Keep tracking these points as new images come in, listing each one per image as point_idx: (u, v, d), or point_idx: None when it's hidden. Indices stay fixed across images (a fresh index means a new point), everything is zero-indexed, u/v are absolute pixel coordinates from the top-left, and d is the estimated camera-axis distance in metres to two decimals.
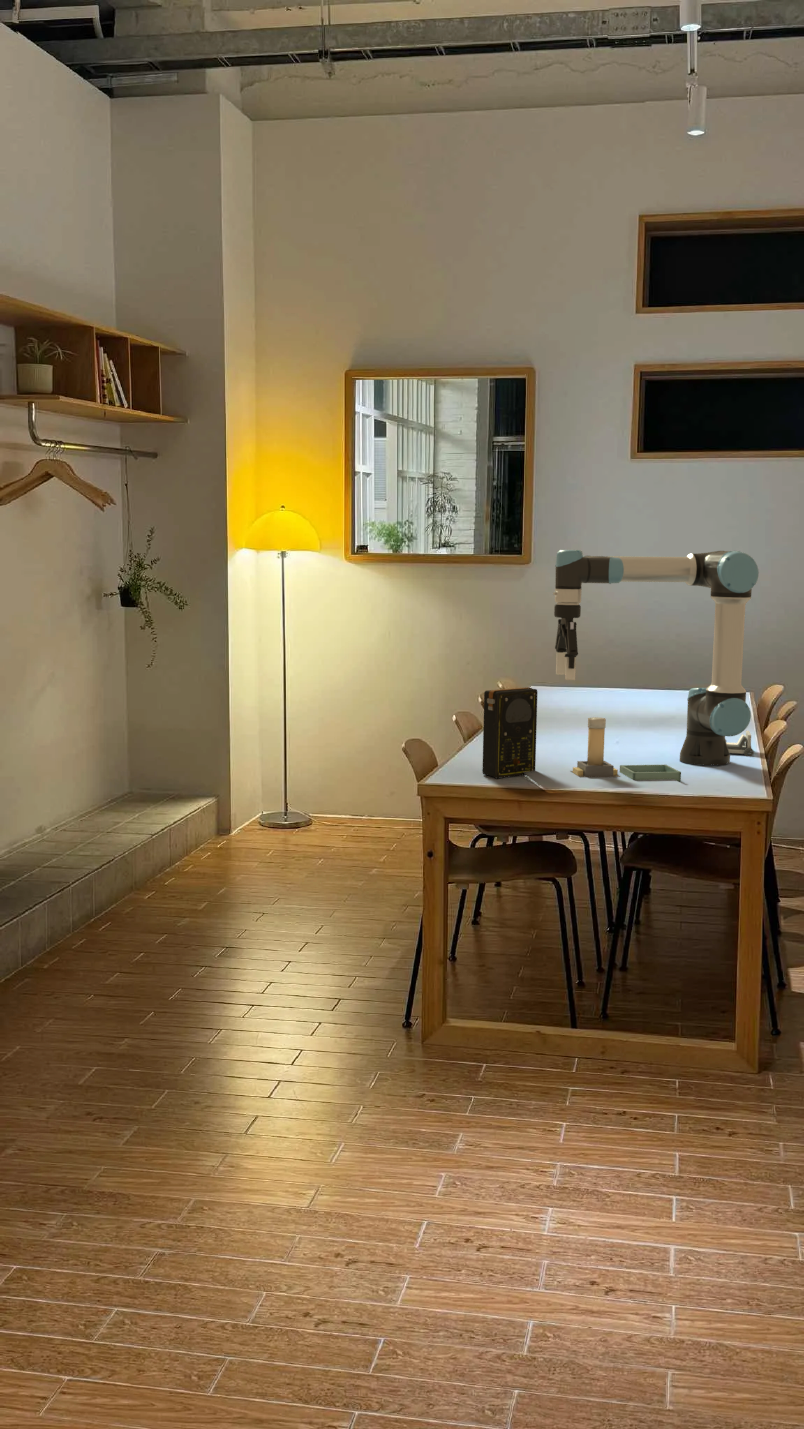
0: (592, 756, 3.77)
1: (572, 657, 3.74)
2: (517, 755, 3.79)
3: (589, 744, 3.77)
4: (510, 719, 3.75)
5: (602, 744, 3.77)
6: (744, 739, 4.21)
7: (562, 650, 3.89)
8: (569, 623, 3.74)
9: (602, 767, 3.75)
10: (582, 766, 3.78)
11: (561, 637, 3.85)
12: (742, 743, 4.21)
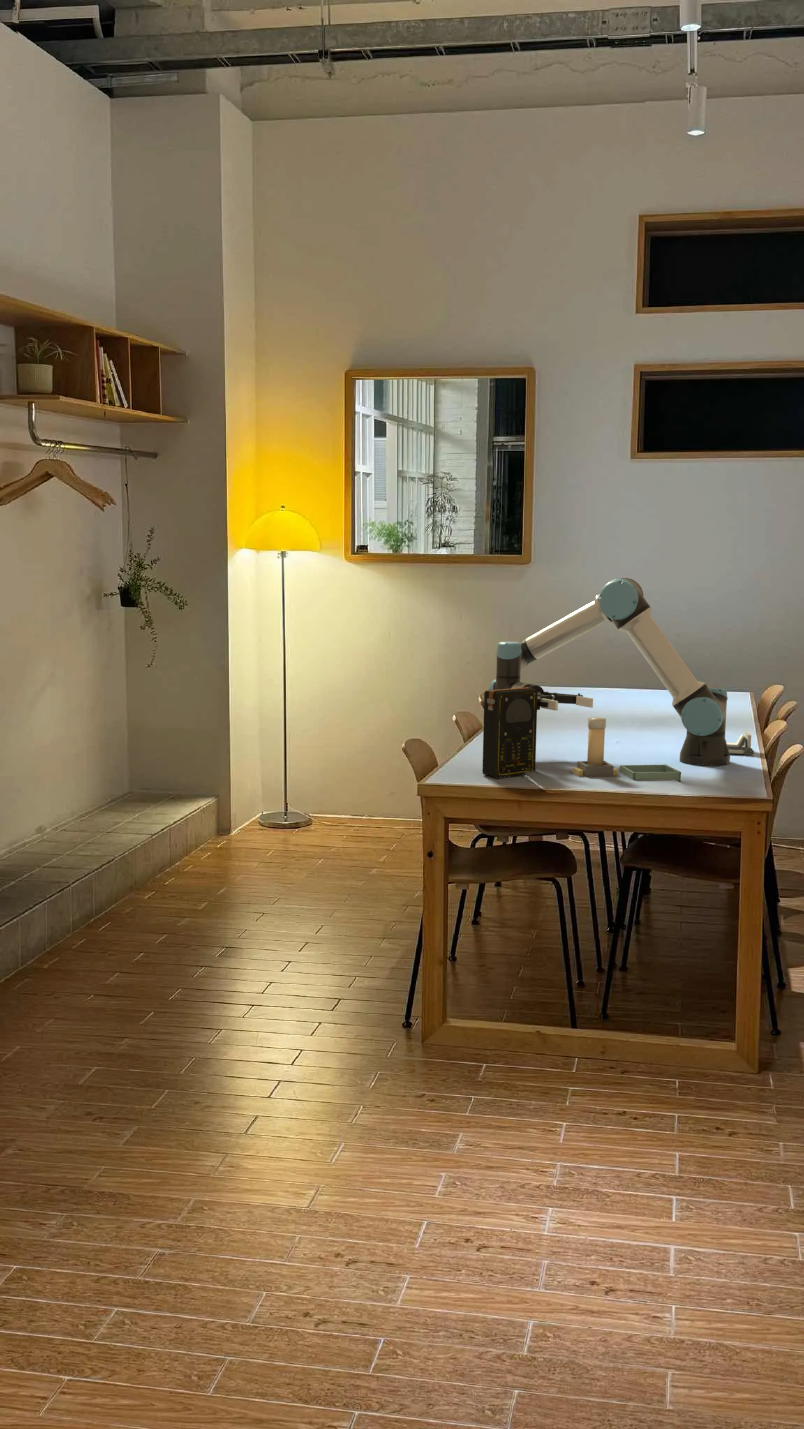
0: (592, 756, 3.77)
1: (537, 703, 3.85)
2: (517, 755, 3.79)
3: (589, 744, 3.77)
4: (510, 719, 3.75)
5: (602, 744, 3.77)
6: (744, 739, 4.21)
7: None
8: None
9: (602, 767, 3.75)
10: (582, 766, 3.78)
11: (558, 701, 3.96)
12: (742, 743, 4.21)
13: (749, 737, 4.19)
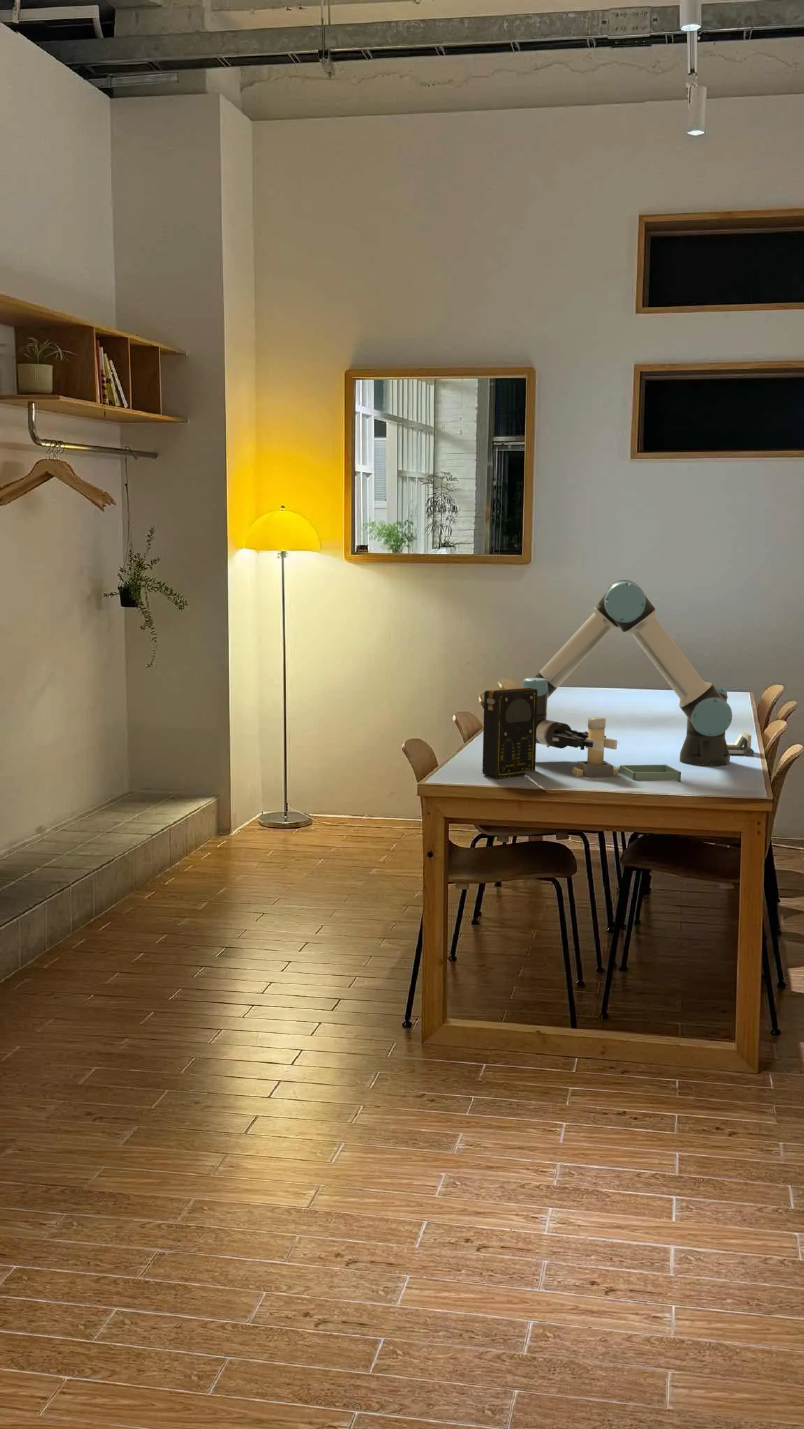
0: (592, 756, 3.77)
1: (581, 743, 3.77)
2: (517, 755, 3.79)
3: None
4: (510, 719, 3.75)
5: None
6: (744, 739, 4.20)
7: None
8: (553, 741, 3.84)
9: (602, 767, 3.75)
10: (582, 766, 3.78)
11: None
12: (742, 743, 4.21)
13: (749, 737, 4.19)
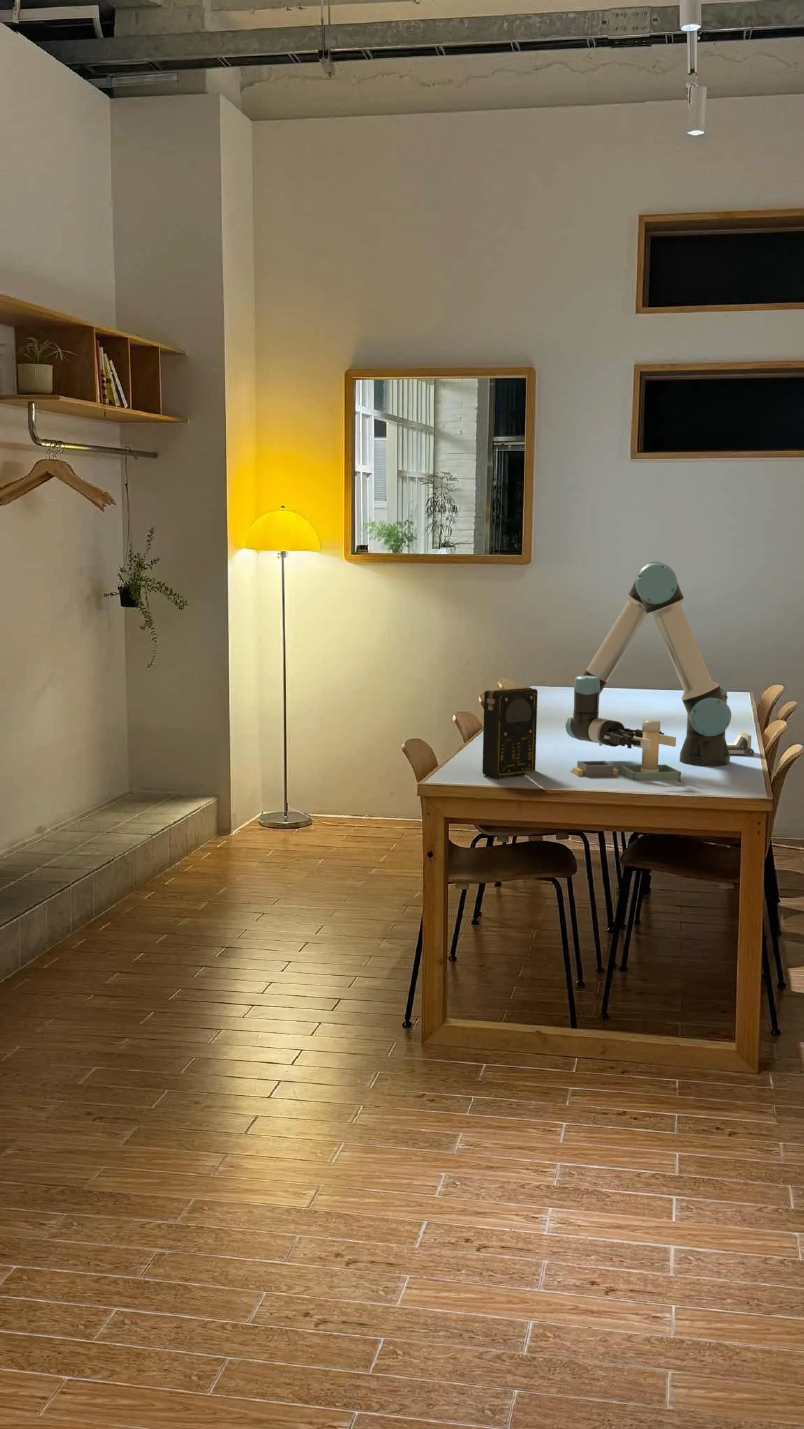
0: (647, 759, 3.75)
1: (629, 741, 3.75)
2: (517, 755, 3.79)
3: None
4: (510, 719, 3.75)
5: (657, 747, 3.75)
6: (744, 739, 4.20)
7: None
8: (604, 739, 3.83)
9: (602, 767, 3.75)
10: (582, 766, 3.78)
11: None
12: (742, 743, 4.20)
13: (749, 737, 4.19)
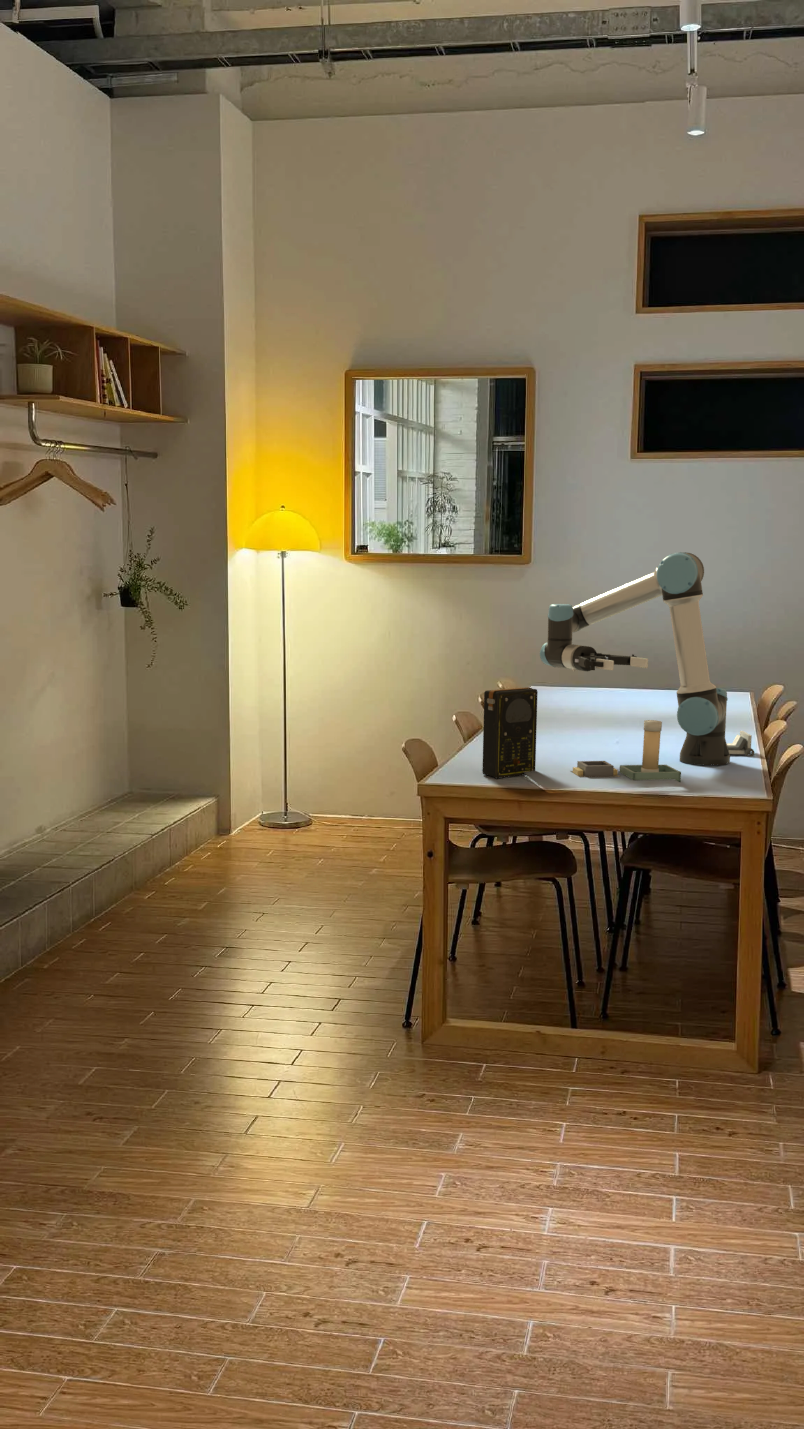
0: (648, 759, 3.75)
1: (592, 663, 3.82)
2: (517, 755, 3.79)
3: (645, 747, 3.76)
4: (510, 719, 3.75)
5: (658, 747, 3.75)
6: (744, 740, 4.20)
7: None
8: (575, 662, 3.91)
9: (602, 767, 3.75)
10: (582, 766, 3.78)
11: None
12: (742, 744, 4.20)
13: (749, 737, 4.19)
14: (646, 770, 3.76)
